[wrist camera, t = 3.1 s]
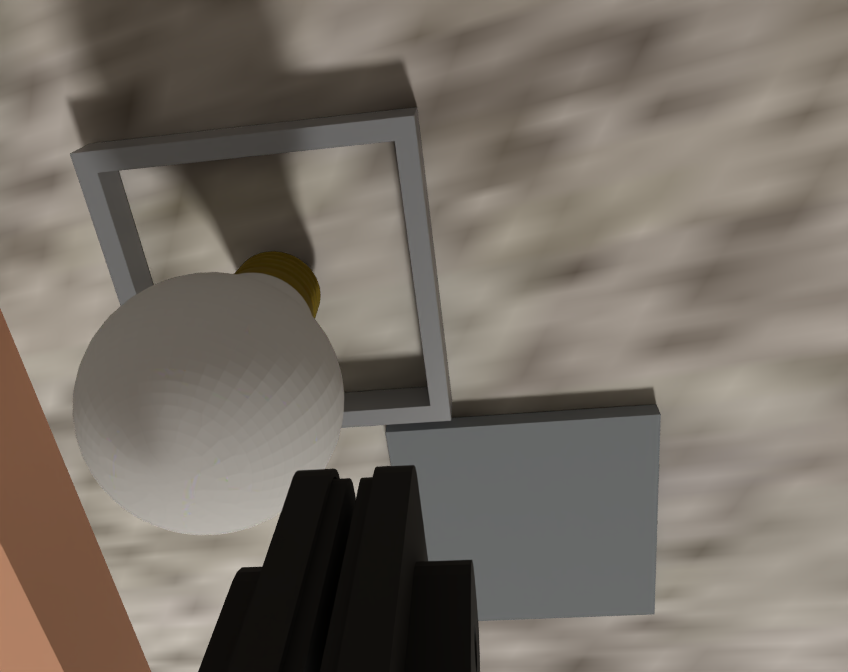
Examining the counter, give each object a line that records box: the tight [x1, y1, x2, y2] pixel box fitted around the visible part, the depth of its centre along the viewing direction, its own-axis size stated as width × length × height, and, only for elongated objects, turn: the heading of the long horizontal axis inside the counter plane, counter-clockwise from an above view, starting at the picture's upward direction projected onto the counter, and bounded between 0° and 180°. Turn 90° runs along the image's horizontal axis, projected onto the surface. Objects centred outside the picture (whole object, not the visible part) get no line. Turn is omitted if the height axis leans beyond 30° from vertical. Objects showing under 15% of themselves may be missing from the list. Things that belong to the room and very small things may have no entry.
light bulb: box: [73, 251, 344, 535], centre depth 19 cm, size 6×6×10 cm
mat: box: [385, 404, 661, 621], centre depth 27 cm, size 9×9×1 cm
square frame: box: [70, 107, 452, 428], centre depth 23 cm, size 10×10×1 cm
